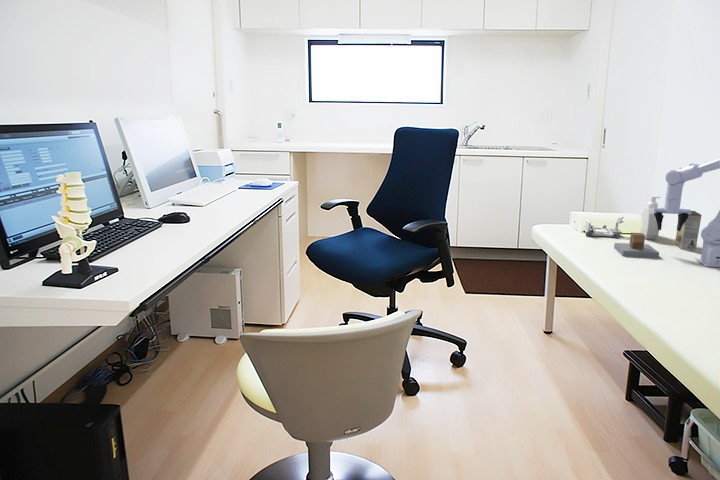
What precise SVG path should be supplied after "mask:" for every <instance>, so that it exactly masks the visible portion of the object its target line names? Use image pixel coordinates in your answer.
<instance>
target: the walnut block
mask: <svg viewBox="0 0 720 480" xmlns="http://www.w3.org/2000/svg"><path fill="white" fill-rule="evenodd" d="M629 238H630V239H629V246H630V247H631V248H633V249H644V244H645V241H646V239H645V235H644V234H643V233H641V232H633V231H632V232H631V231H630V237H629Z"/></svg>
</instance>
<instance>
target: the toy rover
mask: <svg viewBox="0 0 720 480" xmlns="http://www.w3.org/2000/svg"><path fill="white" fill-rule="evenodd" d="M623 219H624V216H622V217H620V216H619V215H618V216H617V217H616V219H615V228H614V229H610V228H607V225H606V224H604V225H603V226H602V227H595V226H594V224H593V223H592V222H591V221H590V220H589V219H588V218H585V221H586V225H585V224H584V227H585V232H584V233H585V237H587V238H588V237H589V238H591V237H592V236H597V237H612V238H613V239H620V237H621V235H622V234H623V232H622V231H621V230H620V229H618V228H619V224H623V223H624V220H623ZM609 229H610V231H609Z"/></svg>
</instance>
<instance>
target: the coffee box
mask: <svg viewBox="0 0 720 480" xmlns="http://www.w3.org/2000/svg"><path fill="white" fill-rule="evenodd" d="M701 221H702V214H700V213H699V212H697V211H695V210H691V215H689V216H688V218H687V220H686V221H685V222H684V224H683V226H682V228H681V230H680V231H677V230H676V235H675V239H674V240H675V242H674V245H675V246H676V247H678V249H681V250H685V251H686V250H687V251H690V250H691V251H696V250H697V247H698V246H697V244H698V238H699V232H700V228H701V227H700V226H701Z"/></svg>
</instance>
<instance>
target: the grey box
mask: <svg viewBox="0 0 720 480" xmlns="http://www.w3.org/2000/svg"><path fill="white" fill-rule="evenodd" d="M629 244H630V242H629V243H628V242H625V243H624V242H614V246H613V249H615V250H616V251H617V252H618V254H620V255H621V257H629V256H631V258H651V259H659V256H660V252H659V251H658V250H656V249H655V248H654V247H653V246H651V245H650V244H646V243H644V249H633V248H631V247H630V246H629Z"/></svg>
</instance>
